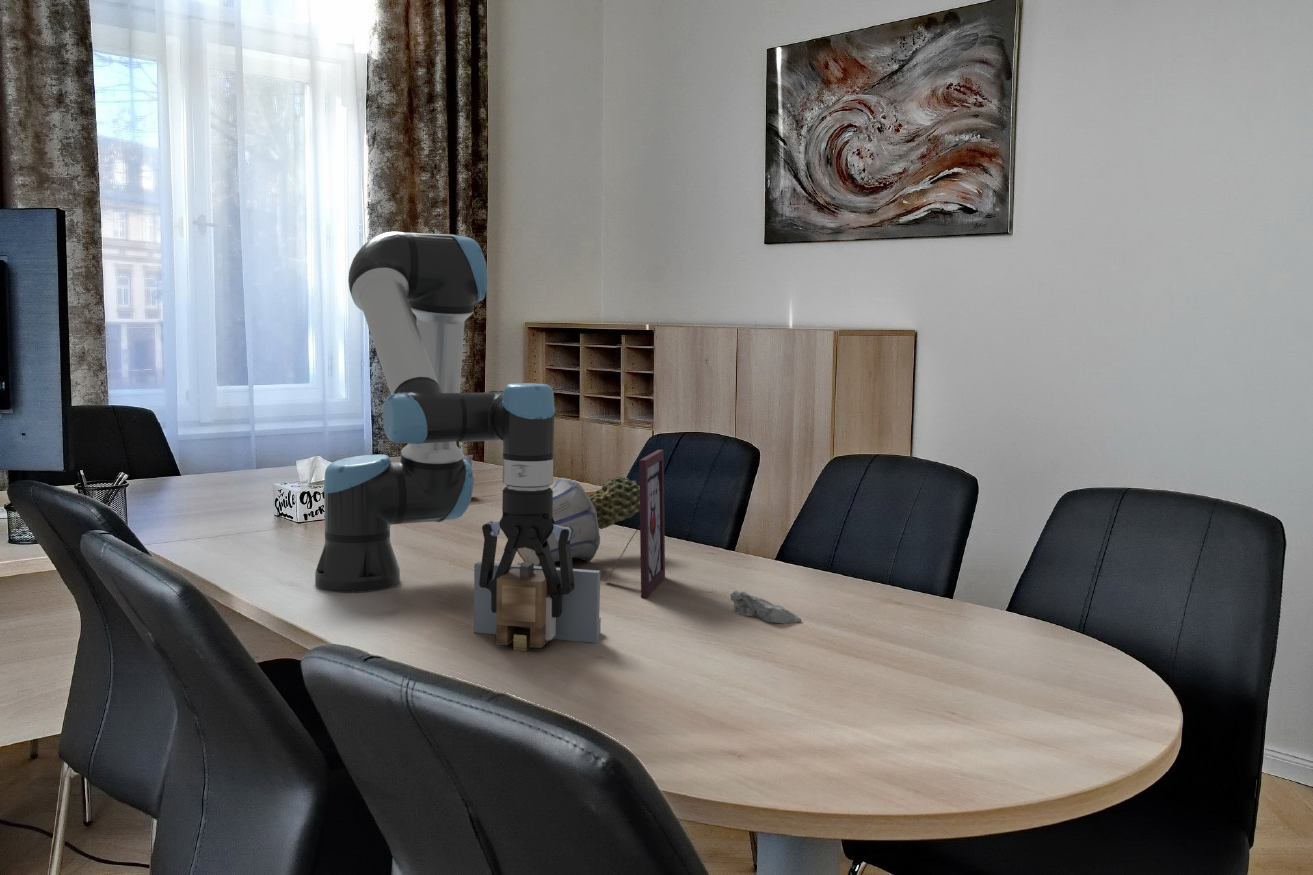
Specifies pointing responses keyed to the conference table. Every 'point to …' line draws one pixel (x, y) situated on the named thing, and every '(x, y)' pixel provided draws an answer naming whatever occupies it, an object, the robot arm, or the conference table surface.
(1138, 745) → the conference table surface
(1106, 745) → the conference table surface
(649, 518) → the picture frame
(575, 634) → the wall board
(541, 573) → the cabinet block
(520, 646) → the rail
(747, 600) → the stone
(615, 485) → the potted plant
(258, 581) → the conference table surface
